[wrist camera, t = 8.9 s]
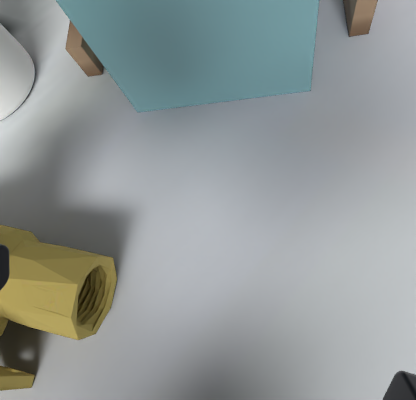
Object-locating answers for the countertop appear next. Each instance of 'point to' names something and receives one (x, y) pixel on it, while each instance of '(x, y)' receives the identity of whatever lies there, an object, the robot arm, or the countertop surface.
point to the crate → (199, 47)
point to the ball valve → (52, 292)
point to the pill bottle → (13, 73)
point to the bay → (84, 56)
